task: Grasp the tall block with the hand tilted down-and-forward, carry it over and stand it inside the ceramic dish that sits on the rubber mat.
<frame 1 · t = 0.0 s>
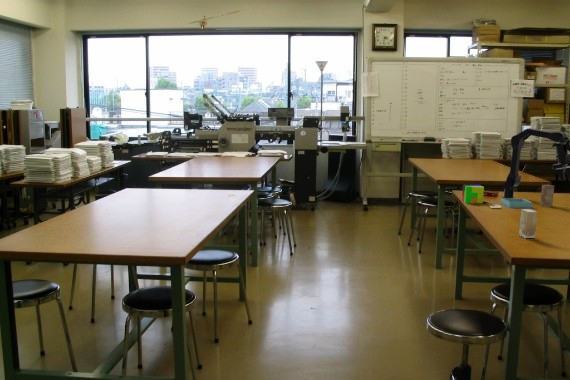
hand: (566, 180, 324), 15 cm above the table, tool pointing down, fingers open, 9 cm apart
dish: (516, 205, 324), resting on mat
block: (546, 206, 325), on the table
mat: (515, 206, 324), on the table
skincare box: (526, 238, 246), on the table
puzzle toy: (472, 202, 337), on the table
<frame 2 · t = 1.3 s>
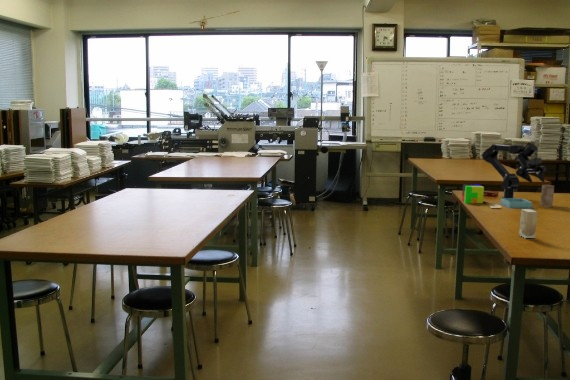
hand: (537, 182, 330), 13 cm above the table, tool tilted 45°, fingers open, 9 cm apart
nothing on the table moved.
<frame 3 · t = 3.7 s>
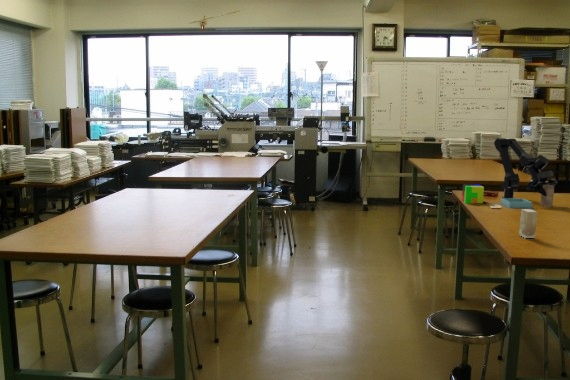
hand: (549, 195, 323), 7 cm above the table, tool tilted 45°, fingers closed on block, 4 cm apart
block: (546, 206, 325), on the table, touching gripper
everything else where it was.
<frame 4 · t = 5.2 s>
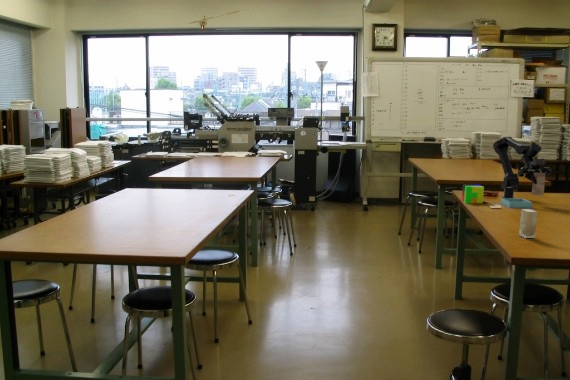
hand: (540, 183, 322), 14 cm above the table, tool tilted 45°, fingers closed on block, 4 cm apart
block: (537, 194, 324), point 7 cm above the table, touching gripper
everything else where it was.
when the fingers open (9 cm above the table, at t = 7.1 s): block drops 1 cm, resting on dish.
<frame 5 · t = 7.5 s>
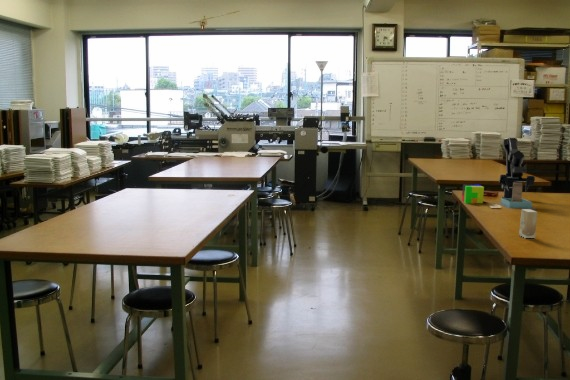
hand: (517, 191, 322), 9 cm above the table, tool tilted 45°, fingers open, 9 cm apart
block: (516, 204, 324), point 1 cm above the table, touching dish
everything else where it was.
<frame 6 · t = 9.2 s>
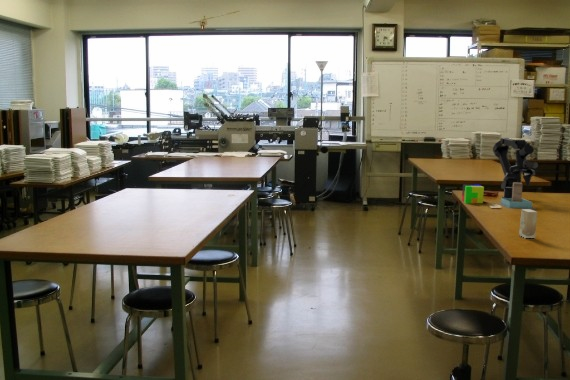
hand: (524, 184, 333), 11 cm above the table, tool tilted 25°, fingers open, 9 cm apart
nothing on the table moved.
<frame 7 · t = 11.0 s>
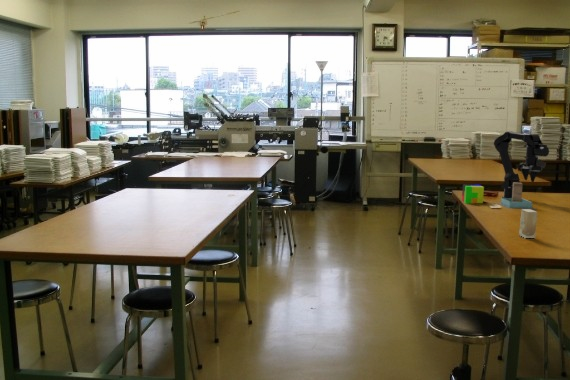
hand: (529, 181, 337), 13 cm above the table, tool pointing down, fingers open, 9 cm apart
nothing on the table moved.
at the end: block inside the target area on the dish (0.1 cm from its centre), point 0.8 cm above the dish's base; block tilted 0°; the gripper is holding nothing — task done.
